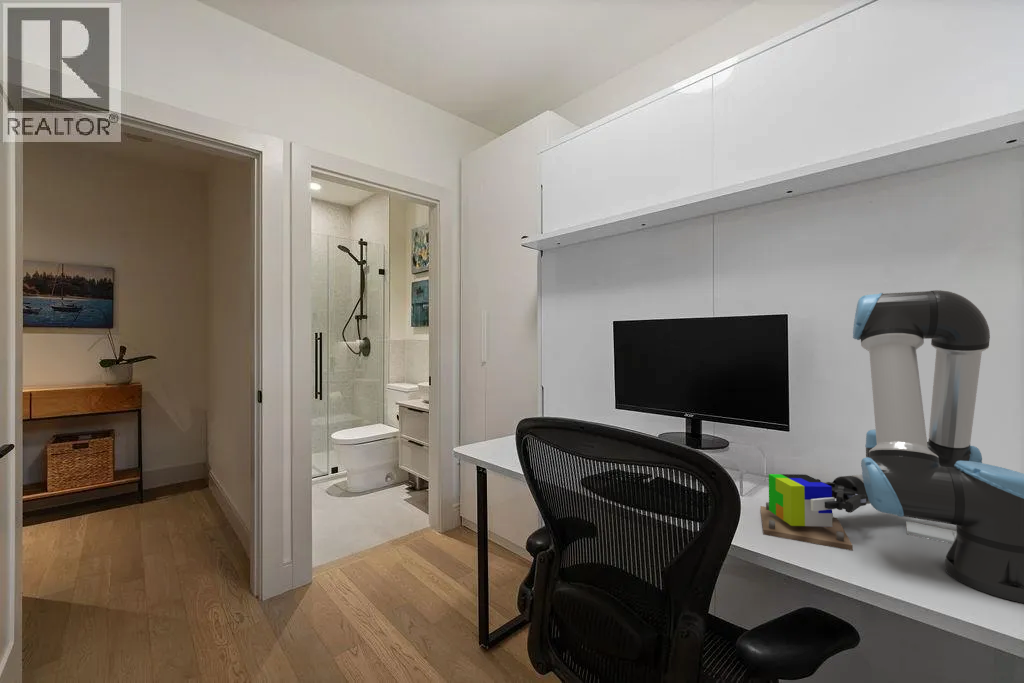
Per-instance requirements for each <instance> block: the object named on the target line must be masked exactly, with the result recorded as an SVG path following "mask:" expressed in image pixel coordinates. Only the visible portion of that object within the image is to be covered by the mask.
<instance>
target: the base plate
mask: <svg viewBox="0 0 1024 683" xmlns="http://www.w3.org/2000/svg"><path fill="white" fill-rule="evenodd" d="M833 515H834V513H833V512H832V527H826V526H791V525H789V524H788V523H786V522H785V521H784V520H782V519H781V518H779V517H778V516H776V515H775V514H773V513H772V512H771V511H769V501H767V502H765V506H764V505H763V506H762V505H760V517H761V525H762V526H761V527H762V534H763V535H766V536H771V537H776V538H782V539H787V540H791V541H792V540H793V541H798V542H804V543H810V544H813V545H814V544H815V545H820V546H825V547H830V548H831V547H832V548H838V549H841V550H846V551H847V550H848V551H854V550H853V548H854V547H853V544H852V542H851V540H850V538H849V536H848V535H847V533H846V531H845V529H844V527H843V525H842V524H841V522H840V520H839V519H838V517H834V516H833Z"/></svg>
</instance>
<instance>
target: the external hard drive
mask: <svg viewBox="0 0 1024 683" xmlns="http://www.w3.org/2000/svg"><path fill="white" fill-rule="evenodd" d="M905 529H906V535H908V534H910V535H909V536H913V535H914V536H915V537H918V536H919V538H922V537H923V538H922V539H927V538H929V539H928V540H931V539H933V540H932V541H936V540H938V541H937V542H941V541H944V542H943V543H945V542H948V543H947V544H950V543H952V544H953V542H954V540H955V538H956V535H957V530H953V529H948V528H943V527H938V526H933V525H928V524H923V523H918V522H914V521H909V520H905ZM952 544H951V545H952Z"/></svg>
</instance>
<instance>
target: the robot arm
mask: <svg viewBox="0 0 1024 683" xmlns="http://www.w3.org/2000/svg"><path fill="white" fill-rule="evenodd" d="M990 334H991V332H990V328H989V325H988V322H987V319H986V317H985V315H984V314H983V313H982V311H981V310H980V309H979V308H978V306H977V305H975V304H974V303H973V302H972V301H971V300H969V299H968V298H966V297H964V296H962V295H960V294H958V293H955V292H952V291H947V290H942V289H941V290H940V289H939V290H937V289H936V290H927V291H909V292H908V291H904V292H889V293H884V292H880V293H874V294H866V295H862V296H861V297H860V298H858V301H857V303H856V308H855V313H854V322H853V328H852V338H853V339H854V340H857V341H860V346H861V347H862V348H863V349H864V350H865V351H867V352H869V361H870V362H869V363H870V375H871V376H870V377H871V385H872V387H871V389H872V391H871V392H872V399H873V400H872V402H873V412H874V413H873V414H874V425H875V426H874V427H875V429H870V430H868V431H867V432H866V434H865V436H866V437H865V457H863V458H862V459H861V462H860V464H861V474H853V475H852V474H851V475H845V476H844V475H843V476H842V475H841V476H838V477H836V478H834V479H833V481H831V482H830V481H826V482H824V481H822V482H823V483H825V484H827V485H829V486H831V487H832V497H828V498H817V499H811V510H812V511H821V510H830V509H832V510H839V511H843V510H845V512H846V513H853V512H855V511H856V510H857V509H859V508H860V507H864V506H867V505H869V504H870V505H871V506H872V508H874V510H876V511H878V512H880V513H884V514H888V515H889V514H890V515H894V516H898V517H899V518H903V517H904V518H912V519H918V520H924V521H929V522H935V523H942V524H948V525H953V526H956V531H957V535H956V538H955V540H954V542H953V544H951V545H950V548H949V550H948V552H947V553H946V555H945V559H944V561H945V562H944V564H945V566H944V569H945V571H946V573H947V574H948V575H949V576H951V577H952V578H953V579H955V580H957V581H958V582H960V583H963V585H966V586H968V587H970V588H973V589H974V590H977V591H980V592H982V593H985V594H989V595H992V596H995V597H997V598H1000V599H1001V598H1002V599H1005V600H1009V601H1013V602H1017V603H1021V604H1024V473H1023V472H1019V471H1017V470H1013V469H1009V468H1006V467H1002V466H997V465H992V464H988V463H983V457H982V453H981V450H980V449H979V448H978V447H977V446H975V445H971V442H972V441H971V440H972V435H973V434H972V433H973V426H974V425H973V424H974V418H975V417H974V416H975V409H976V400H977V395H978V394H977V393H978V385H979V378H980V369H981V360H982V352H985V351H986V350H988V349H989V347H990V340H991V335H990ZM925 339H927V340H929V339H930V341H931V343H930V345H931V346H932V347H933V348H934V349H935V360H934V361H935V362H934V373H933V383H932V384H933V386H932V392H931V393H932V395H931V408H930V417H929V426H928V428H929V429H928V438H927V431H926V423H925V413H924V405H923V404H924V403H923V396H922V389H921V378H920V373H919V364H918V356H917V350H918V349H920V347H922V346H923V345H924V344H925V342H924V340H925ZM816 479H817V480H819V481H821V479H818V478H816Z"/></svg>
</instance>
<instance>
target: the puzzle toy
mask: <svg viewBox="0 0 1024 683" xmlns="http://www.w3.org/2000/svg"><path fill="white" fill-rule="evenodd" d="M817 479H818V478H814V477H812V476H810V475H808V474H803V473H802V474H799V473H798V474H797V473H796V474H795V473H793V474H791V473H790V474H787V473H786V474H785V473H779V474H778V473H773V474H772V473H768V502H769V511H771V512H772V513H773V514H775V515H776V516H778V517H779V518H781V519H782V520H784V521H785V522H786V523H788V524H789V525H791V526H826V527H832V513H833V509H830V510H821V511H812V510H811V499H817V498H828V497H832V487H831V486H829V485H827V484H825V483H826V482H824V481H822V480H820V479H819V480H820V481H819V480H817ZM823 482H824V483H823Z"/></svg>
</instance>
